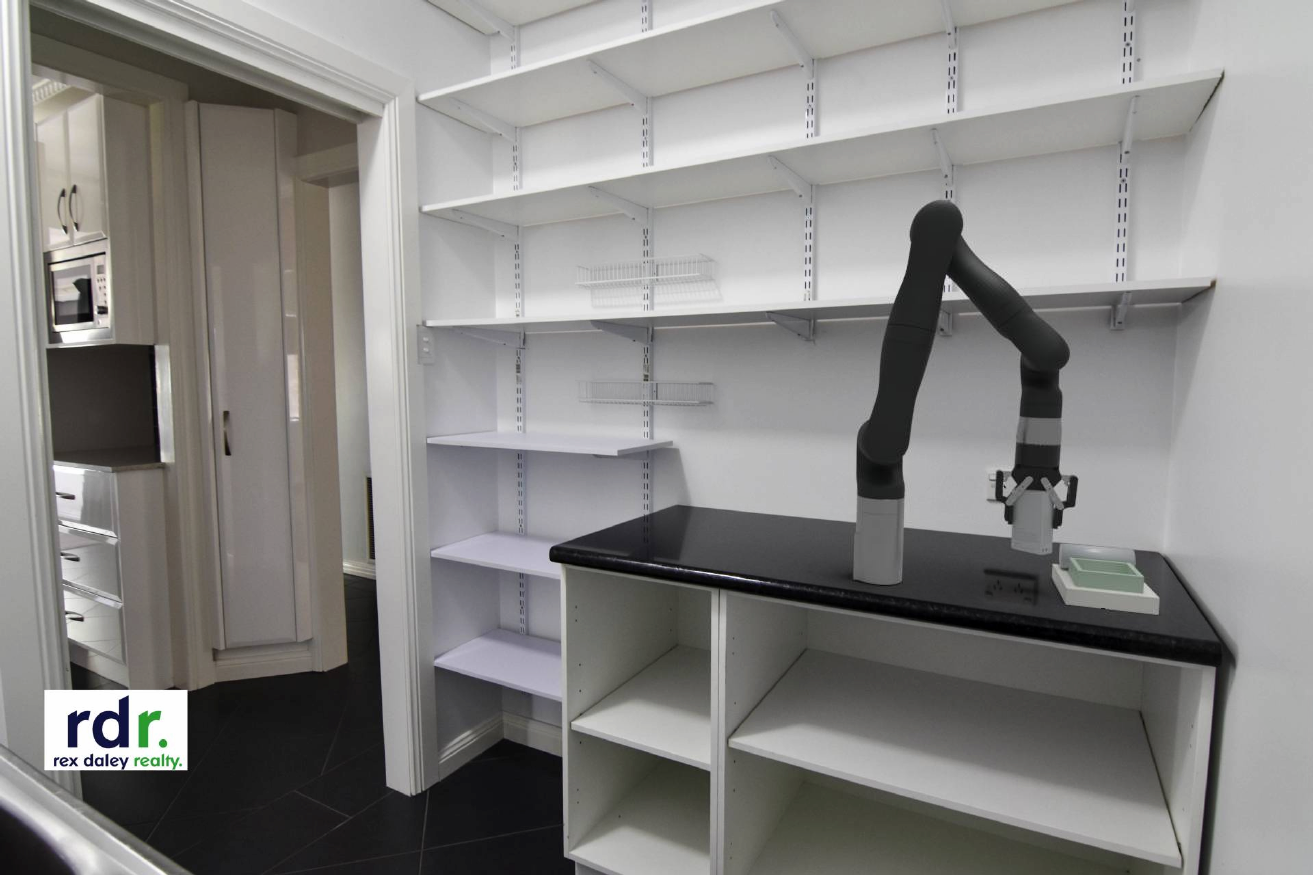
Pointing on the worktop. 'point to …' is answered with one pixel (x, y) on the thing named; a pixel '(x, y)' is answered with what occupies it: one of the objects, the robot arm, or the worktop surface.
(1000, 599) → the worktop surface
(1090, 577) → the green piece
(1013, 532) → the skincare box
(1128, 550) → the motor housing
